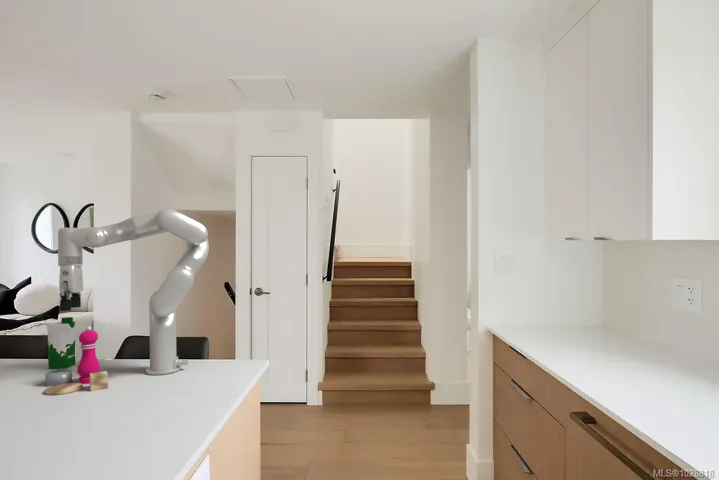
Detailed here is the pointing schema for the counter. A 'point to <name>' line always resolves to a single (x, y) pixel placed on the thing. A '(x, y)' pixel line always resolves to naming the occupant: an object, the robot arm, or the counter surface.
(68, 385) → the cork trivet
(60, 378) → the grey rounded dome
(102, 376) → the oak block
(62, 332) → the milk carton
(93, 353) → the pepper mill
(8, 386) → the counter surface
